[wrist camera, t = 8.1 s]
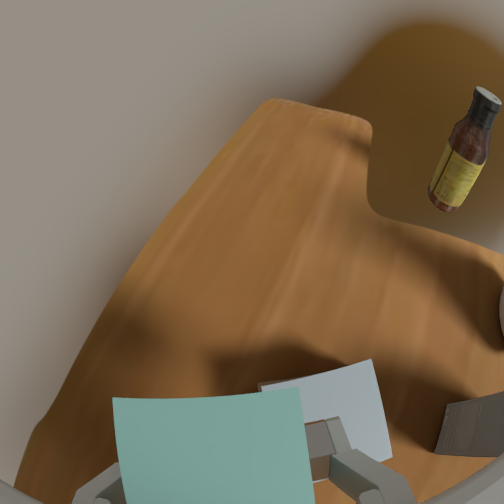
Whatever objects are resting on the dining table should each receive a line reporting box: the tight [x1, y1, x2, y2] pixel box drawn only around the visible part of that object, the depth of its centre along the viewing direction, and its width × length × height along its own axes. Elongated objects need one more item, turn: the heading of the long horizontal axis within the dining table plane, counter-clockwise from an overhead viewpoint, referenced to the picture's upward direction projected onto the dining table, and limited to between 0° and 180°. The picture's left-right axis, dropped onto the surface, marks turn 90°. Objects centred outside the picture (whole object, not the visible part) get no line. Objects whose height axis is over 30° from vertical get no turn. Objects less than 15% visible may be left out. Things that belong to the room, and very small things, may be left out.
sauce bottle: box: [428, 87, 502, 212], centre depth 28 cm, size 7×6×20 cm
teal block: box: [112, 386, 315, 504], centre depth 8 cm, size 4×4×9 cm
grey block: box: [261, 359, 392, 483], centre depth 19 cm, size 9×9×4 cm
